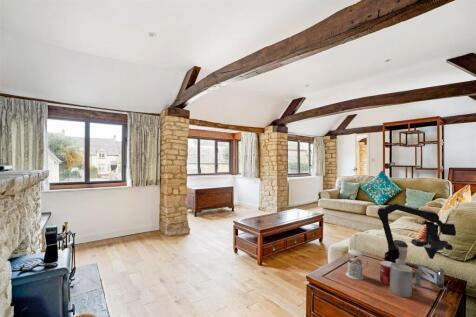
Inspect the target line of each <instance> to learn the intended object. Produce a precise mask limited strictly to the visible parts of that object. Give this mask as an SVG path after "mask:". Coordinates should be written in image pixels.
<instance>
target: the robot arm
mask: <svg viewBox="0 0 476 317" xmlns="http://www.w3.org/2000/svg"><path fill="white" fill-rule="evenodd" d="M395 211H400V212H402V213H407V214H410V215H413V216H417V217H419V218H422V219H424V220H423V221H422V222H421V223H422V225H425V232H424V235H425V238H423V239H424V241H422V240H421V239H417V238H416V239H414V238H412V239H411V244H412V245H413V246H415V247H419V248H424V250H425V251H426V253H427V256H428V258H429V259H430V260H434V257H435V256H436V255H437V253H438V252H439V251H442V250H444V249H446V250H448V251H453V249H454V247H453V245H452V244H450V243H449V242H448V241H447V240H440V238H441V237H440V235H439V233H441V235H443V236H444V235H445V236H451V237H456V235H457V230H456V224H454V223H445V222H443V221H442V220H441V219H440V216H439V214H438V213H437V212H436V211H433V210H427V209H419V208H414V207H411V206H408V205H404V204H400V203H397V202H393V203H391V204H389V205H386V206H384V207H383V206H380V207H378V209H377V216H378V218H379V219H380V221H381V223H382V227H383V231H384V235H385V238H386V243H387V249H388V251H386V252H384V257H383V261H389V262H392V263H396V259H398V258H399V255H400V251H399V248H398V245H395V243H394V237H393V233H392V229H391V226H390V222H389V214H391V213H393V212H395Z"/></svg>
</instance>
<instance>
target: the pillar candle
mask: <svg viewBox="0 0 476 317" xmlns="http://www.w3.org/2000/svg"><path fill="white" fill-rule="evenodd" d="M389 291H390V292H391V293H392V294H393V295H395V296H398V297H400V298H411V297H412V295H413V268H412V267H410V266H409V265H406V264H405V265H404V264H401V263H391V264H390V286H389Z"/></svg>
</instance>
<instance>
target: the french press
mask: <svg viewBox="0 0 476 317" xmlns="http://www.w3.org/2000/svg"><path fill="white" fill-rule="evenodd" d="M353 236H354V237H358V234H357V233H355V234H353ZM354 241H355V242H354V244H355V246H354V247H355V248H354V249H349V250H348V251H347V253H348V254H349V255H351V256H349V257H348V259H347V271H346V272H345V275H346V276H347V277H348V278H350V279H353V280H364V277H365V276H363V270H365V269H366V268H368V265H369V264H368V262H369V261H368V259H367V258H366V257H365V256H364V255H363V253H362V252H361V251H360V250H358V249H357V248H356V244H357V243H356V242H357V240H356V238H355V240H354ZM359 257H361V259H360V258H359ZM363 259H365V260H366V264H365V266H364V267H363V263H362V261H363Z"/></svg>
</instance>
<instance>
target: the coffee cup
mask: <svg viewBox="0 0 476 317" xmlns="http://www.w3.org/2000/svg"><path fill="white" fill-rule="evenodd" d="M393 240H394V239H393ZM394 243H395V245H398V248H399V251H400V255H399V258H398V259H396V263H401V264H404V265H406V261H407V256H408V247H409V246H408V244H407V243H406V241H404V240H401V239H400V240H399V239H395V240H394Z"/></svg>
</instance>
